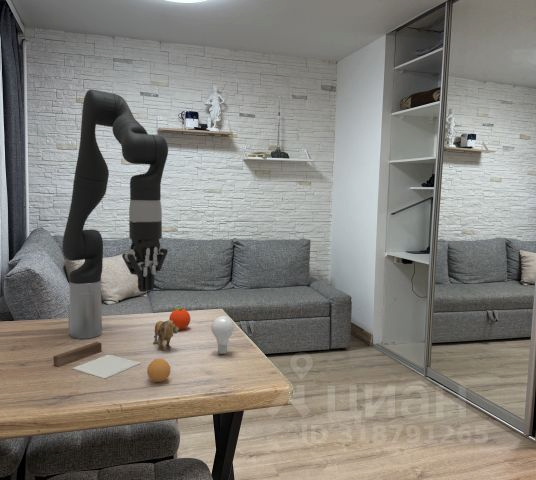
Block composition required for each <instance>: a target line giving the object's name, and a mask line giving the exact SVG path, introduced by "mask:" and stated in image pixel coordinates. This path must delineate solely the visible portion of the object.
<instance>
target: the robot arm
mask: <svg viewBox="0 0 536 480" xmlns="http://www.w3.org/2000/svg"><path fill="white" fill-rule="evenodd" d="M81 113H82V114H81V125H80V127H81V128H80V136H79V137H80V139H79V146H78V147H79V148H78V153H77V154H78V155H77V160H76V166H75V169H74V170H75V171H74V177H73V186H72V192H71V193H72V194H71V200H70V207H69V212H68V216H67V221H66V224H65V228H64V232H63V238H62V252H63V256H64V258H65V259H66V260H68V261H82V260H83V261H84V262H83V264H81V266H79V267H78V268H76V269H74V270H72V271H71V272H70V273H69V277H68V280H69V281H68V282H69V285H68V286H69V304H68V305H67V306H68V307H67V309H68V310H67V311H68V312H67V315H68V320H67V321H68V335H70V336H71V338H73V339H78V340H79V339H80V340H81V339H83V340H84V339H85V340H86V339H93V338H97V337H99V336H101V335H102V333H103V323H102V319H103V315H102V314H103V313H102V309H103V308H102V274H103V267H104V266H103V260H104V258H103V256H104V241H103V237H102V234H101V232H100V231H99V230H97V229H95V228H94V229H93V228H91V229H84V227H85V225H86V224H85V223H87V220H88V218H89V216H90V215H91V213H92V212H93V211H94V210H95V209H96V207H97V206H98V205H100V203H101V201H102V200H103V198H104V197H105V195H106V192H107V188H108V183H109V174H110V173H109V171H110V170H109V166H108V164H107V162H106V160H105V158H104V156H103V154H102V151H101V150H100V148H99V147H100V146H99V144H98V141H97V137H96V127H97V126H104V127H111V128H112V133H113V136H114V138H115V140H117V142H118V143H119V144H120V146H121V155H122V157H123V159H124V160H125V161H126V162H128V163H130V164H133V165H149V167H148V169H147V171H146V172H144V173H140V174H135V175H133V176H131V177H130V180H129V195H130V196H129V198H130V200H129V208H128V209H129V211H128V214H129V216H128V217H129V218H128V221H129V222H128V225H129V226H128V227H129V229H128V230H129V231H128V232H129V233H128V234H129V235H128V236H129V239H130V240H131V244H130V250H129V251H128V252H127V253H123V254H122V259H123V261H124V264H125V266H127V269H128V270H129V273H130V274H131V275H134V276H137V288H138V289H137V290H138V291H139V292H142V293H146V292H148V291H154V289H155V288H154V287H155V275H156V273H157V272H160V271H161V270H162V267H163V264H164V262H165V259H166V257H167V255H168V252H169V251H168V249H167V248H163V247H161V243H160V239H162V236H163V234H162V231H163V230H162V228H163V227H162V225H163V217H162V216H163V215H162V214H163V210H162V202H161V201H162V200H161V198H162V197H161V188H162V187H161V184H162V179H163V174H164V169H165V167H166V162H167V159H168V156H169V155H168V154H169V145H168V142H167V141H166V139H165V137H164V136H162V135H158V134H149V133H148V132H147V130H146V128H145V127H144V126H143V125H141V124H140V122H139V121H138V120H137V119H136V118H135V116H134V115H133V112H132V111H131V108H130V106H129V105H128V102H127V101H126V100H125V98H124V97H123V96H121V95H119V94H116V93H111V92H107V91H102V90H97V89H92V88H91V89H88V90H87V91H86V93H85V95H84V98H83V103H82V112H81Z"/></svg>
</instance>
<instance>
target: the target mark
mask: <svg viewBox="0 0 536 480" xmlns="http://www.w3.org/2000/svg"><path fill="white" fill-rule="evenodd" d="M138 364H139V365H141V362H138V361H135V360H131V359H130V360H129V359H127V358H124V357H120V356H116V355H112V354H106V355H103V356H101V357H99V358H96V359H92V360H91V361H87V362H85V363H83V364H80V365H77V366H74V367H72V368H71V369H72V370H75V371H78V372H81V373H84V374H88V375H90V376H94V377H97V378H99V379H104V380H106V379H108V378H111V377H113V376H116V375H118V374H121V373H122V372H124V371H127V370H129V369H132V368H134V367H136V366H139V365H138Z"/></svg>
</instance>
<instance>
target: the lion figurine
mask: <svg viewBox="0 0 536 480" xmlns="http://www.w3.org/2000/svg"><path fill="white" fill-rule="evenodd" d="M178 332H179V327H177V326H176V325H175V324H173V321H172V320H169V319H168V320H166V321H162V320H159V321H157V322H156V323H155V325H154V336H153V338H154V341H153V342H152V343H153V345H157V344H158V351H163V350H164V347H163V341H164V342H165V341H166V344H165V347H166V349H168V350H169V349H171V348H172V346H171V345H170V344H171V343H170V342H171V339H172V337H174V334H175V335H177V334H178Z"/></svg>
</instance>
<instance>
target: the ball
mask: <svg viewBox="0 0 536 480" xmlns="http://www.w3.org/2000/svg"><path fill="white" fill-rule="evenodd" d="M146 373H147V376H148V379H150V380H151V381H152V382H154V383H162V382H164V381H165V380H167V379H168V378H169V376H170V375H171V366H170V364H169V362H168V361H167V360H165V359H163V358H156V359H154V360H152V361H150V362H149V364H148V366H147V369H146Z"/></svg>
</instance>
